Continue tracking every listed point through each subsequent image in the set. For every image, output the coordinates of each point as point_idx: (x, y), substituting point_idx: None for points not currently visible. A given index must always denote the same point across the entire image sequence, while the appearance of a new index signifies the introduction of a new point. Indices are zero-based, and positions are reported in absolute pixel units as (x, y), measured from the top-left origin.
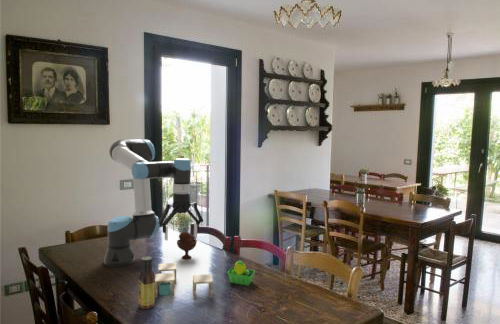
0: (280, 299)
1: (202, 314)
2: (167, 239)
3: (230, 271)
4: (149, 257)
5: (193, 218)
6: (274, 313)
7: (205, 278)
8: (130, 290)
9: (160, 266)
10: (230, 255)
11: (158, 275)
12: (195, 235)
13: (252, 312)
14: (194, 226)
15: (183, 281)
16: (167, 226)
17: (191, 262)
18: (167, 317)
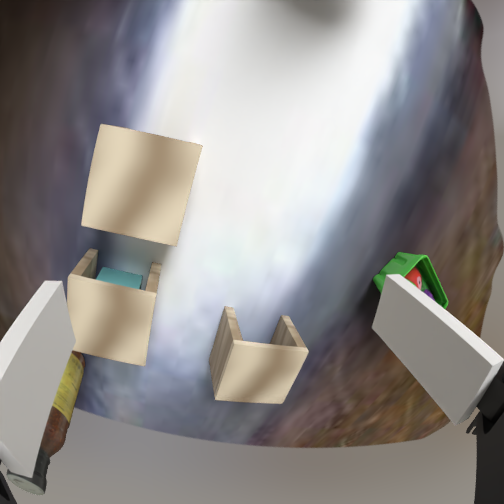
0: (396, 391)
1: (207, 426)
2: (71, 348)
3: (401, 275)
4: (32, 487)
5: (478, 489)
6: (345, 433)
7: (269, 380)
8: (9, 224)
9: (99, 176)
10: (469, 45)
11: (79, 300)
12: (384, 341)
13: (313, 430)
14: (452, 360)
15: (217, 204)
16: (27, 473)
17: (329, 5)
18: (122, 416)
